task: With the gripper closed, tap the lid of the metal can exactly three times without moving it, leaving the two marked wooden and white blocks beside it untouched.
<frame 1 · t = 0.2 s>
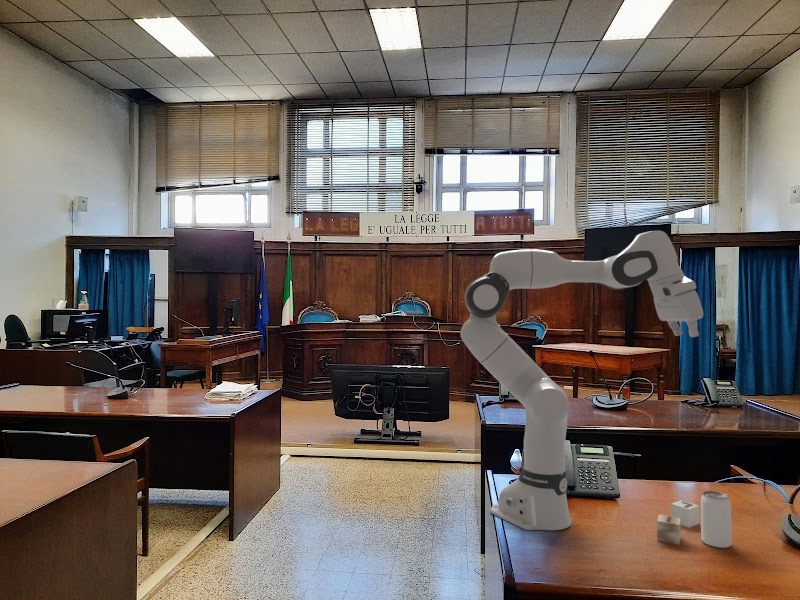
hand: (686, 335, 143), 51 cm above the table, tool tilted 20°, fingers open, 8 cm apart
can: (716, 543, 132), on the table
white block: (685, 523, 145), on the table
birch block: (669, 539, 135), on the table
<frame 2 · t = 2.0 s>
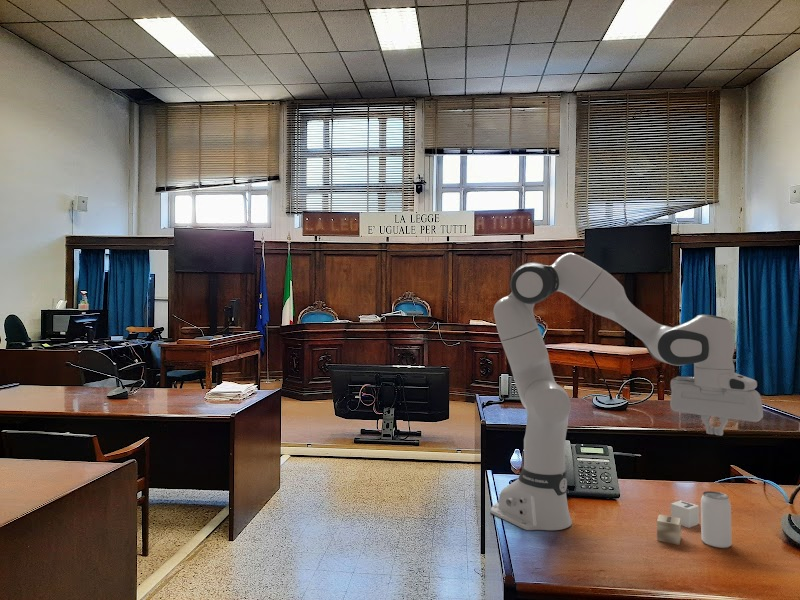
hand: (714, 434, 133), 27 cm above the table, tool pointing down, fingers closed
nothing on the table moved.
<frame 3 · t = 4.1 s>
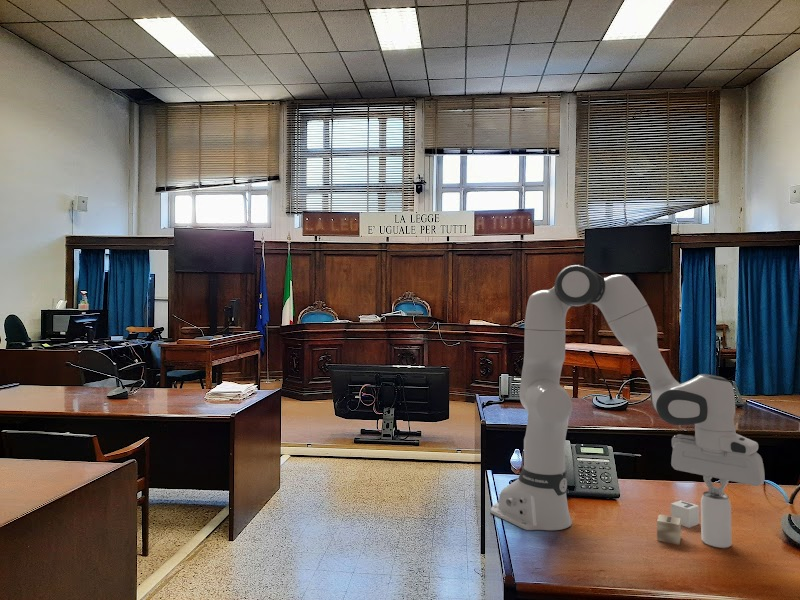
hand: (716, 495, 133), 12 cm above the table, tool pointing down, fingers closed, pressing on can
can: (716, 543, 132), on the table, touching gripper
everything else where it was.
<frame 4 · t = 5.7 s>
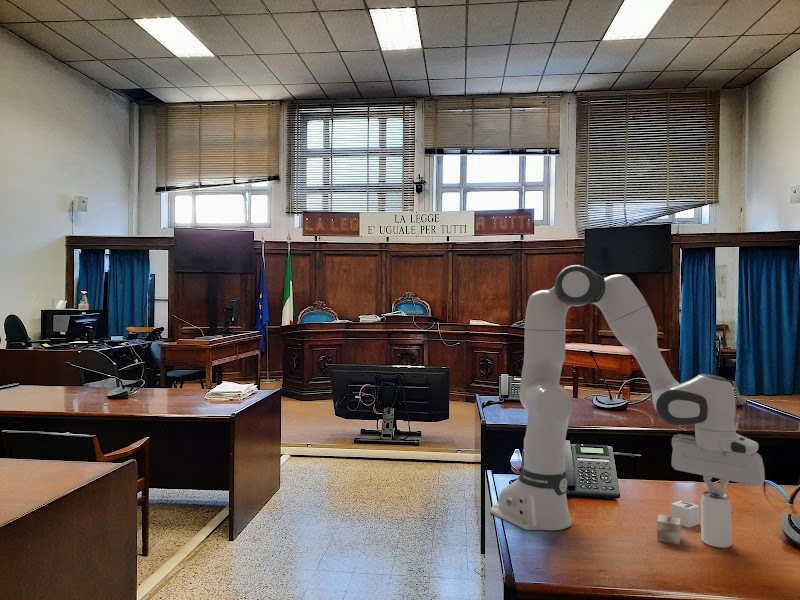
hand: (716, 495, 133), 12 cm above the table, tool pointing down, fingers closed, pressing on can
can: (716, 543, 132), on the table, touching gripper
everything else where it was.
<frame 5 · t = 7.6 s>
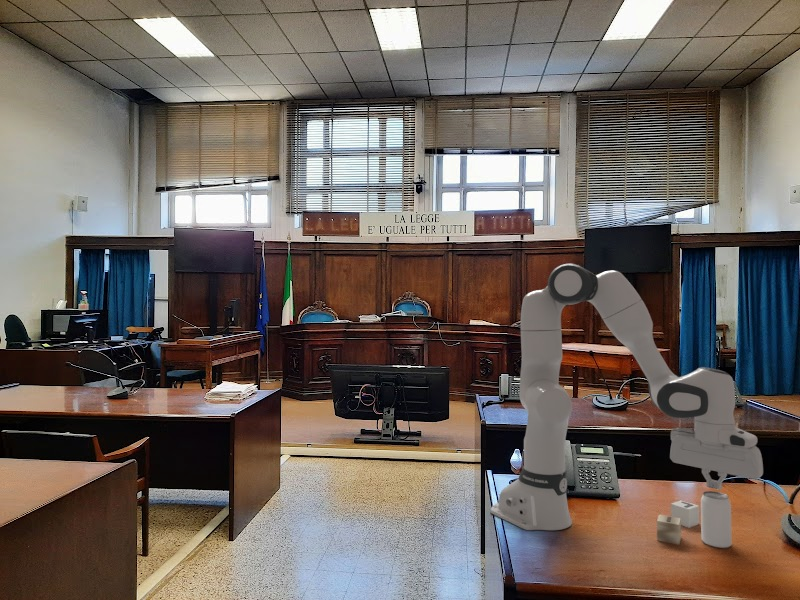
hand: (714, 488, 133), 14 cm above the table, tool pointing down, fingers closed
can: (716, 543, 132), on the table
everything else where it was.
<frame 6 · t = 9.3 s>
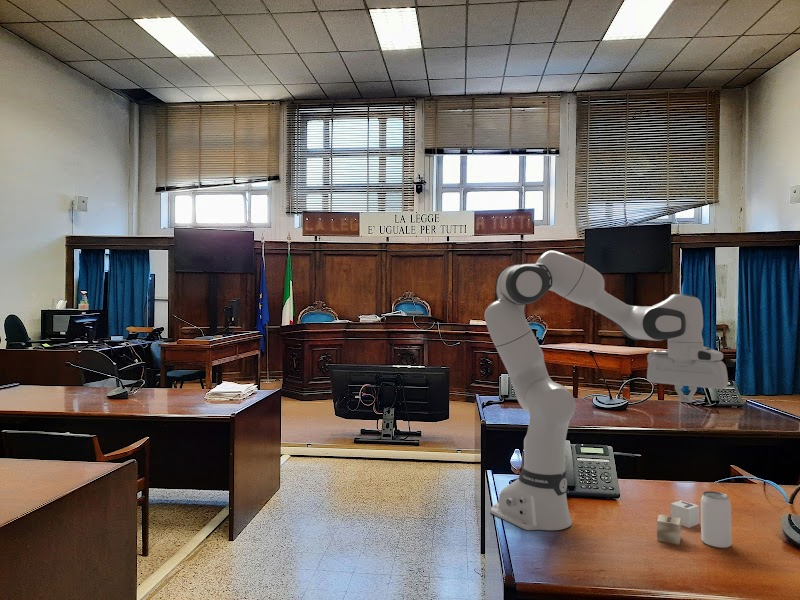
hand: (685, 401, 148), 33 cm above the table, tool pointing down, fingers closed
nothing on the table moved.
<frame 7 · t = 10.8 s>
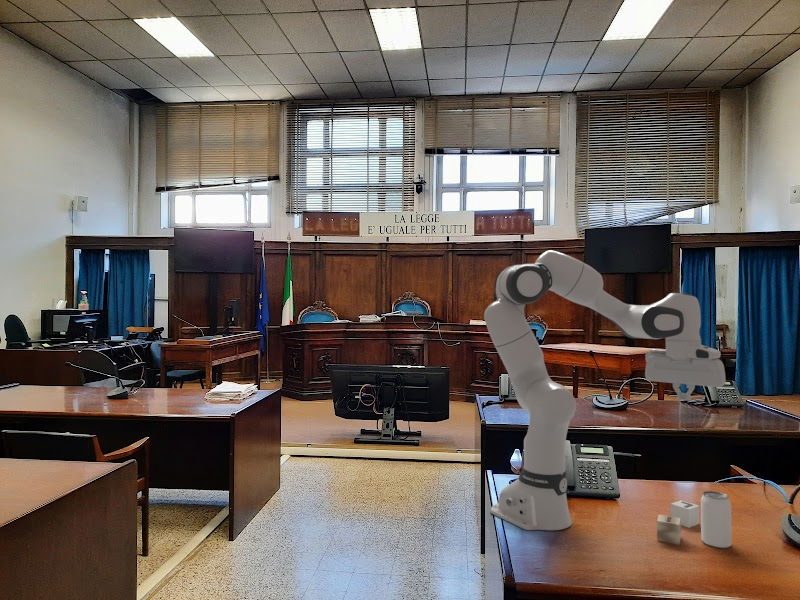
hand: (683, 399, 149), 33 cm above the table, tool pointing down, fingers closed
nothing on the table moved.
at the end: can moved 0.2 cm from its start; can tilted 0°; white block moved 0.1 cm from its start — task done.
